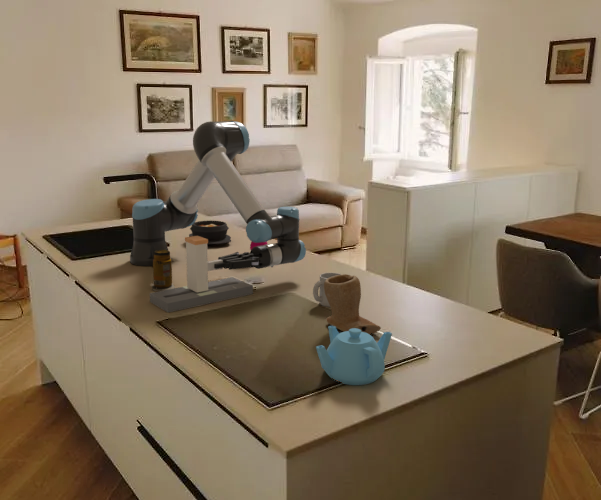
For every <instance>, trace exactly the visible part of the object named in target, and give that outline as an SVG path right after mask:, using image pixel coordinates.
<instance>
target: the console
mask: <svg viewBox="0 0 601 500" xmlns="http://www.w3.org/2000/svg"><path fill="white" fill-rule="evenodd" d="M253 293H254V288H253V285H252V284H249V283H247V282H245V281H243V280H240V279H238V278H236V277H234V276H231V277H227V278H226V277H225V278H221V279H217V280H215V279H214V280H210V281H208V290H207V291H202V292H195V291H193V290H191V289H189V288H187V285H185V286H181V287H175V288H174V289H169V290H159V291H153V292H150V293H149V302H150V303H151V304H153V305H155V306H156V307H158V308H159V309H161V310H163V311H165V312H166V313H172V312H176V311H182V310H185V309H189V308H194V307H199V306H204V305H209V304H213V303H216V302H222V301H226V300H231V299H235V298H240V297H245V296H249V295H253Z"/></svg>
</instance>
